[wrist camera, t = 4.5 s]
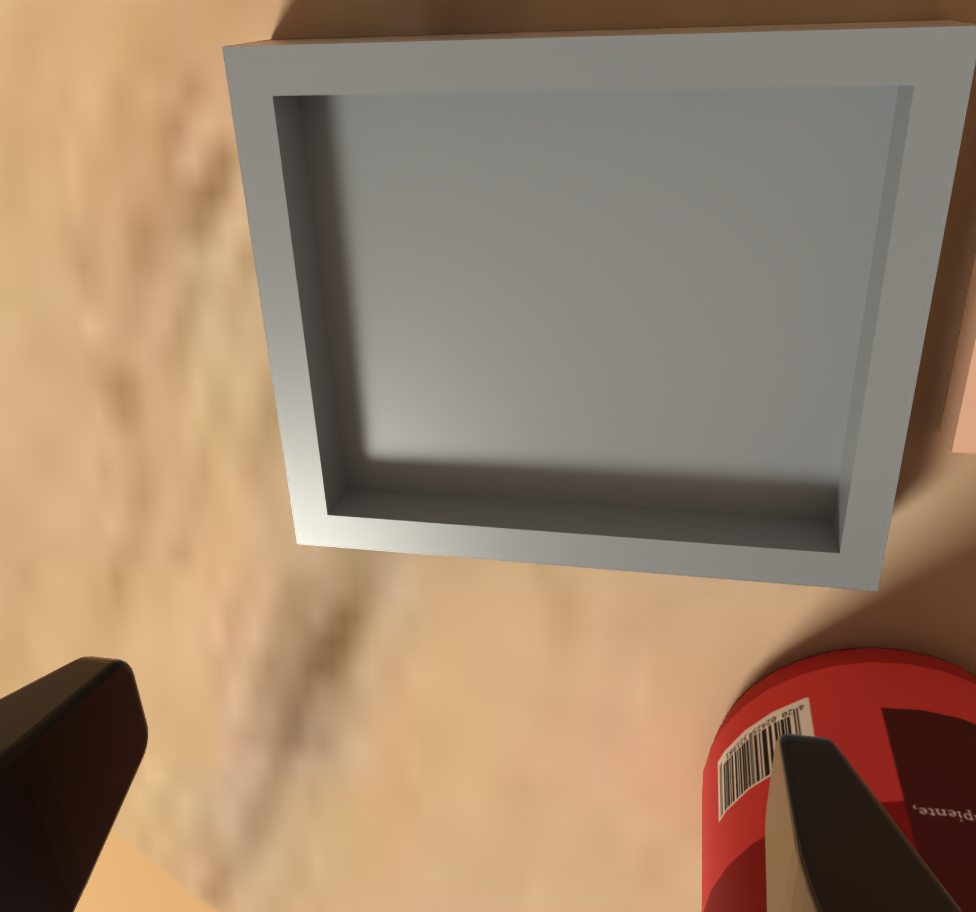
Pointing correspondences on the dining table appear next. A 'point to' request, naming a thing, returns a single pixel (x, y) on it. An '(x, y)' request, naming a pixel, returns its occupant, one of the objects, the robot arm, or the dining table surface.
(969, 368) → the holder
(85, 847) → the robot arm
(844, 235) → the tray
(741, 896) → the canned food
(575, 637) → the dining table surface
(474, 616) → the dining table surface
